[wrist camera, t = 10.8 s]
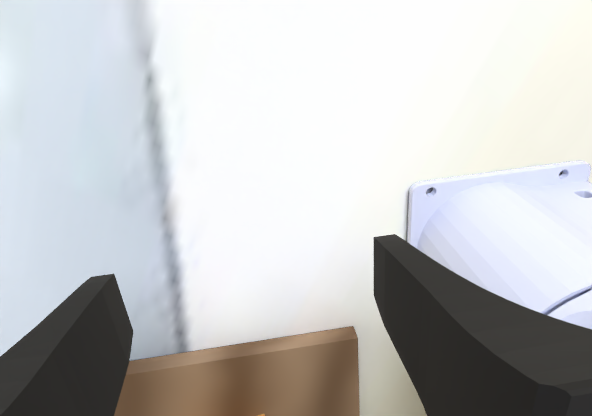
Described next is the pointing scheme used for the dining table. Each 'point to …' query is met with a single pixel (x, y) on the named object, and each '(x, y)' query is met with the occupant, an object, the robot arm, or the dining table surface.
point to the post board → (249, 379)
